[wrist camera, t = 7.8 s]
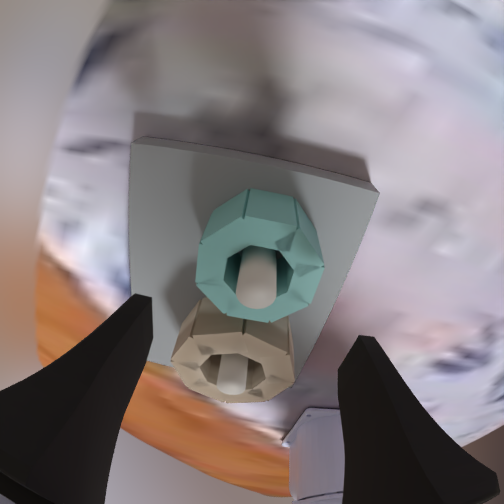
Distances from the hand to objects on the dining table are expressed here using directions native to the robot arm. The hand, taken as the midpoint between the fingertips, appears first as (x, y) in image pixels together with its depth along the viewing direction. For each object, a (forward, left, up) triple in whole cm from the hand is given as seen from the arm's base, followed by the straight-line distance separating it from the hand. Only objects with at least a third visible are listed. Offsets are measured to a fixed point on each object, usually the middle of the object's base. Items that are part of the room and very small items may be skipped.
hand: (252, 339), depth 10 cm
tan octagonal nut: (-7, 0, -6) cm, 9 cm away
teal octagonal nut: (0, 0, -6) cm, 6 cm away
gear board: (-4, +1, -8) cm, 9 cm away
